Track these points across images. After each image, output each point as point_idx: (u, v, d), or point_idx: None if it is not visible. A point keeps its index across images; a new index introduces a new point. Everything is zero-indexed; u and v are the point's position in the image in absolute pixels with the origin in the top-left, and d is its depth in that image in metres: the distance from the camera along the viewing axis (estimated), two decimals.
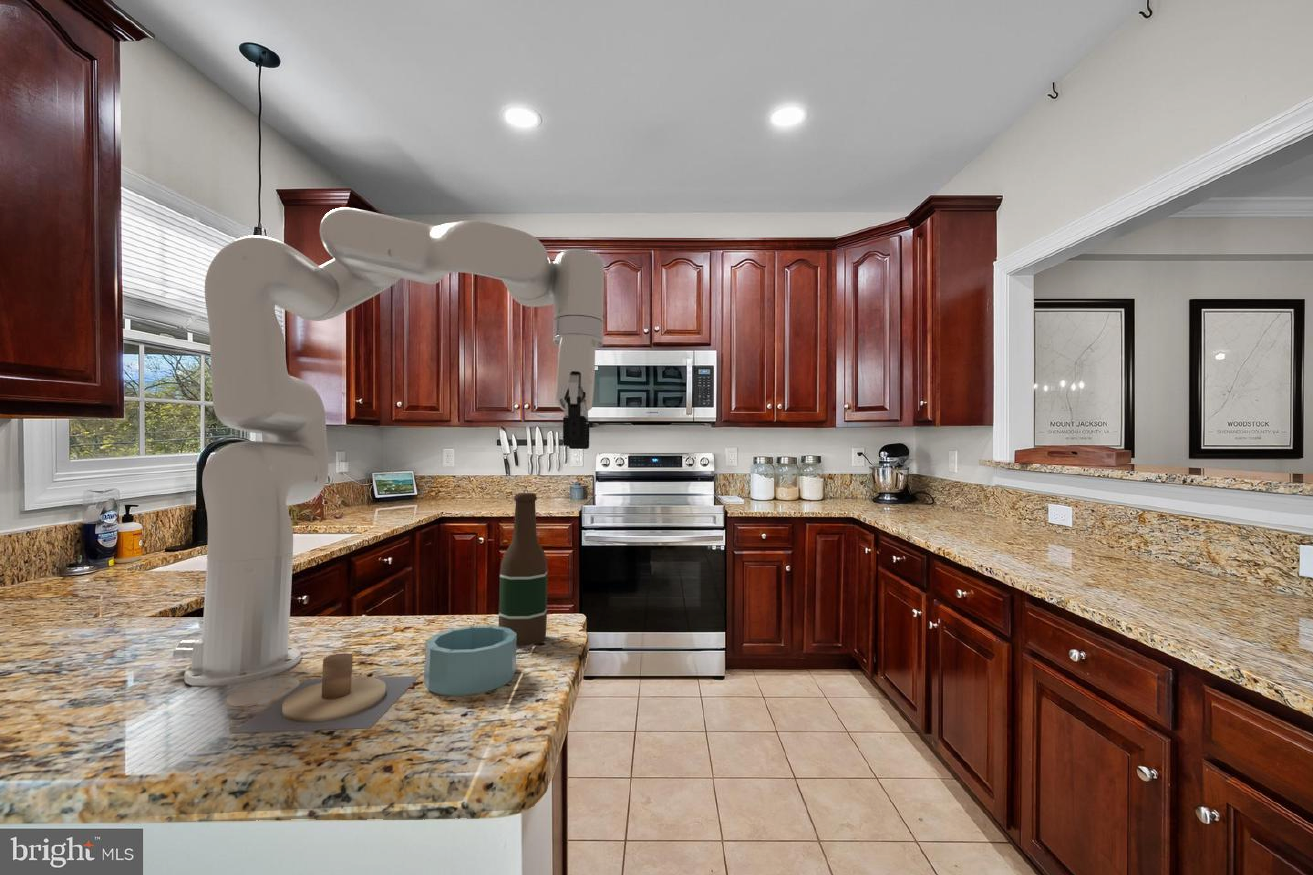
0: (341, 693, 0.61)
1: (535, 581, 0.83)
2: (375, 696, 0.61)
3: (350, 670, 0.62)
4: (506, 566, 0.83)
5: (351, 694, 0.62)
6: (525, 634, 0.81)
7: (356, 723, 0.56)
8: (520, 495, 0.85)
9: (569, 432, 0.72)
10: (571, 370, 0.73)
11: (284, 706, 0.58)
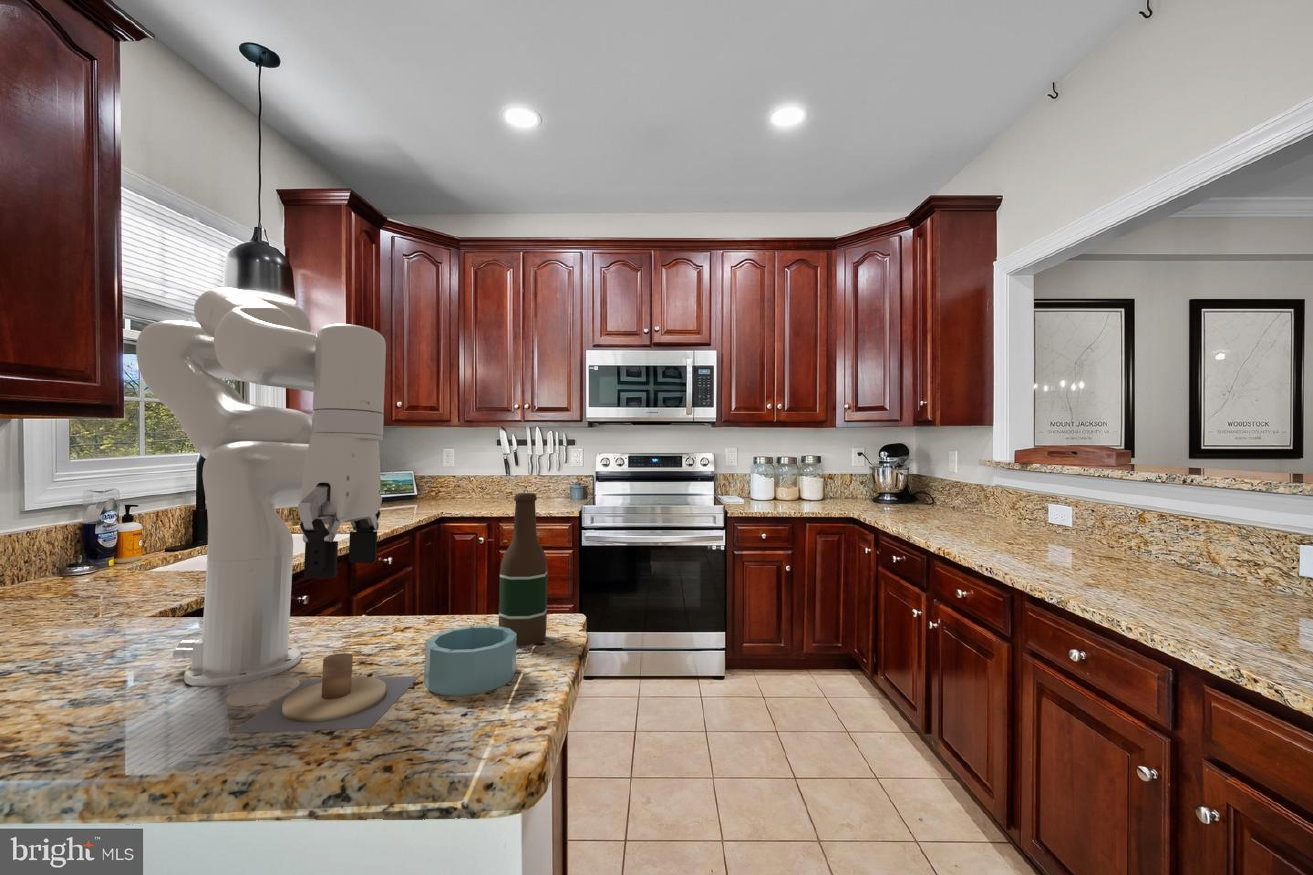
0: (341, 693, 0.61)
1: (535, 581, 0.83)
2: (375, 696, 0.61)
3: (350, 670, 0.62)
4: (506, 566, 0.83)
5: (351, 693, 0.62)
6: (525, 634, 0.81)
7: (356, 723, 0.56)
8: (520, 495, 0.85)
9: (309, 563, 0.57)
10: (318, 481, 0.58)
11: (284, 706, 0.58)
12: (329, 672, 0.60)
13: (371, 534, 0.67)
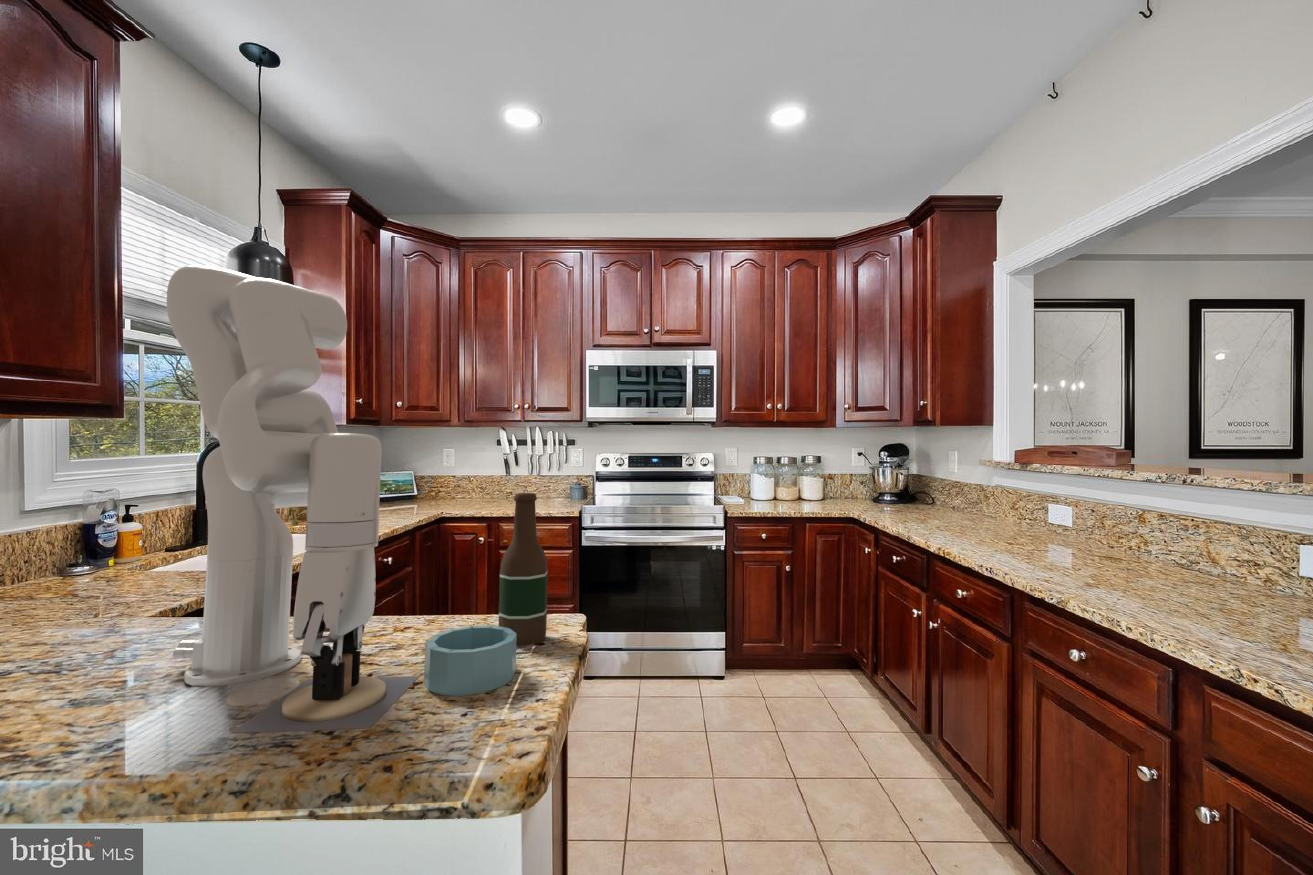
0: None
1: (535, 581, 0.83)
2: (375, 696, 0.61)
3: (350, 670, 0.62)
4: (506, 566, 0.83)
5: (351, 693, 0.62)
6: (525, 634, 0.81)
7: (356, 723, 0.56)
8: (520, 495, 0.85)
9: (317, 686, 0.59)
10: (311, 600, 0.57)
11: (284, 706, 0.58)
12: None
13: (354, 655, 0.63)
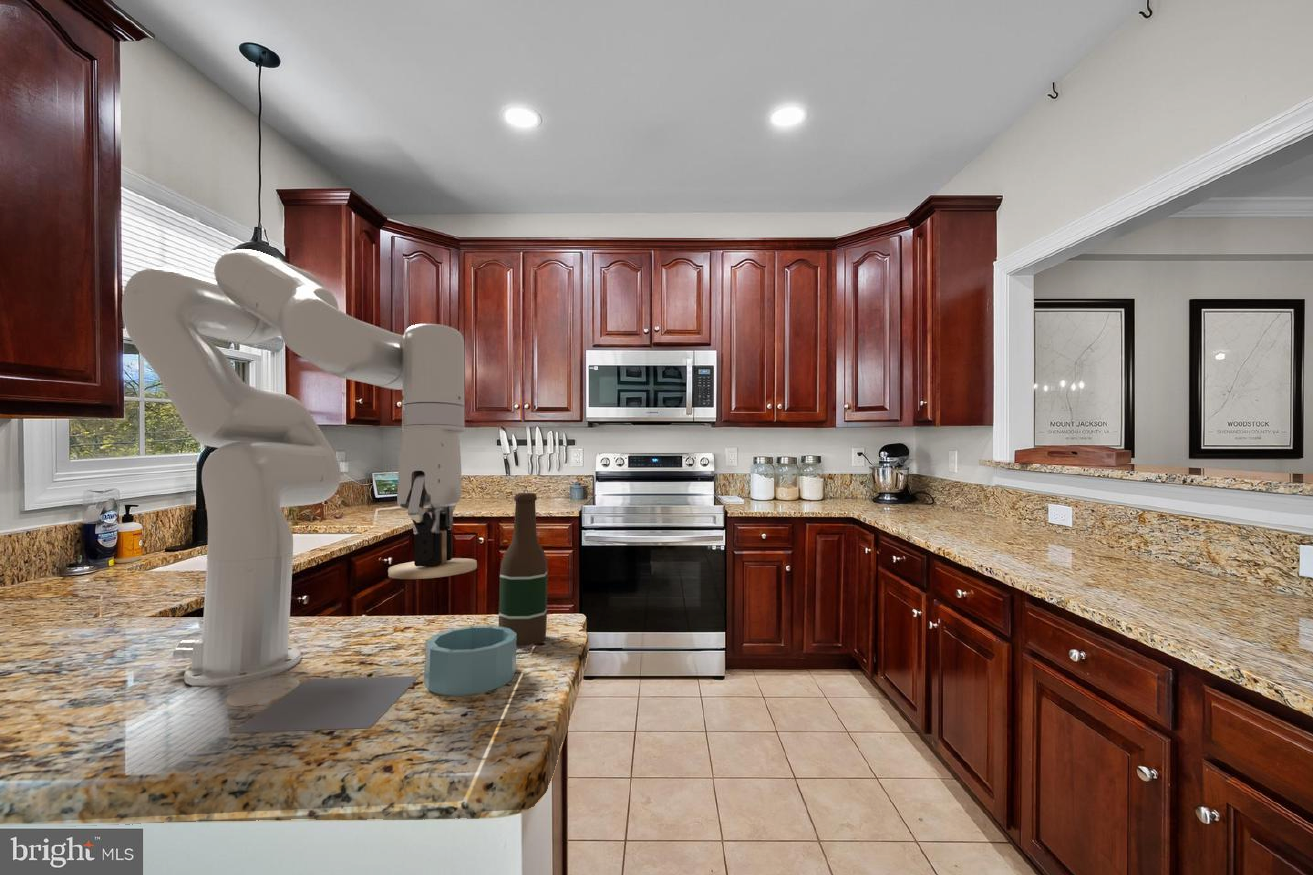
0: None
1: (535, 581, 0.83)
2: (470, 564, 0.66)
3: (445, 543, 0.67)
4: (506, 566, 0.83)
5: (447, 564, 0.67)
6: (525, 634, 0.81)
7: (356, 723, 0.56)
8: (520, 495, 0.85)
9: (419, 552, 0.64)
10: (413, 469, 0.62)
11: (390, 570, 0.63)
12: None
13: (447, 532, 0.68)
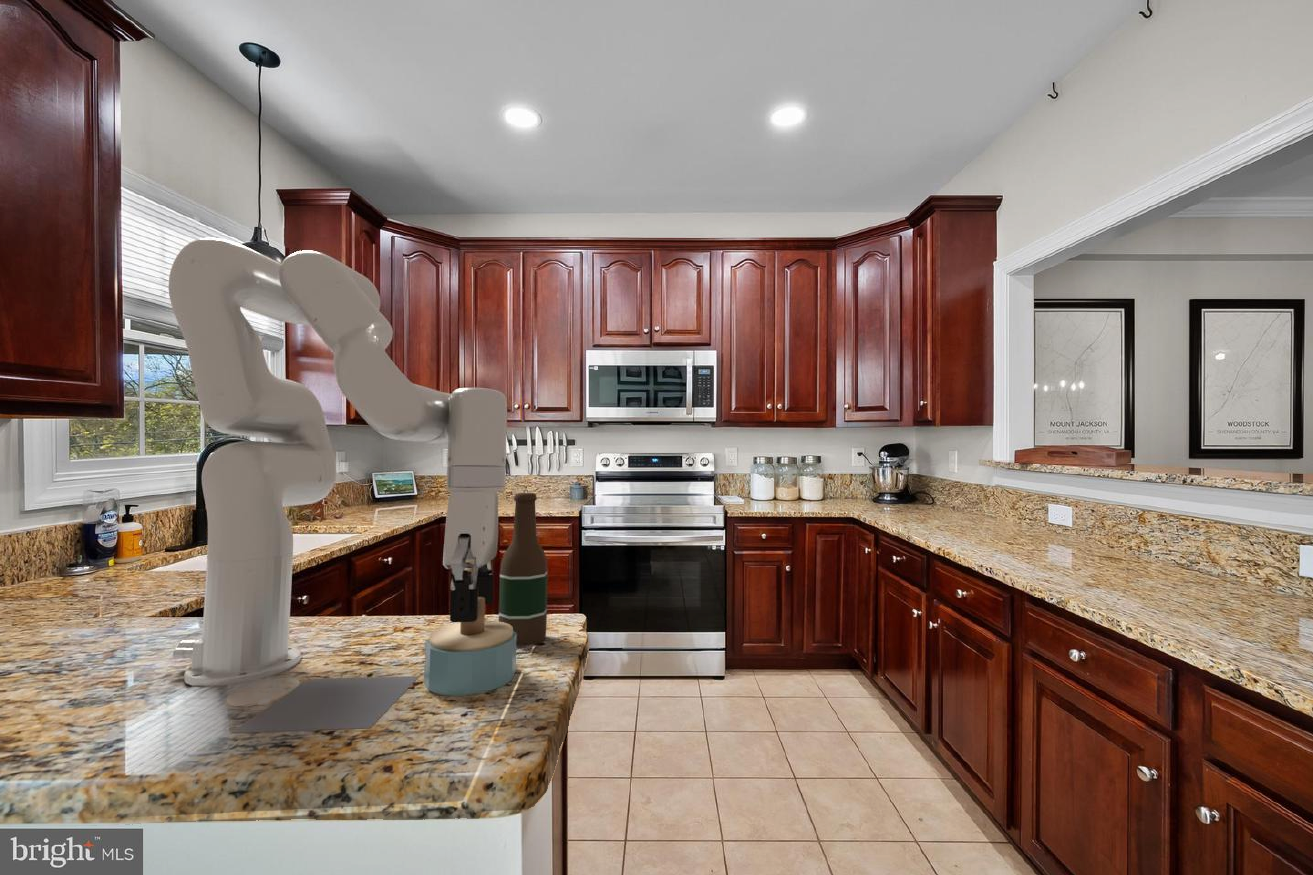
0: (478, 630, 0.68)
1: (535, 581, 0.83)
2: (508, 633, 0.69)
3: (484, 610, 0.69)
4: (506, 566, 0.83)
5: (485, 631, 0.69)
6: (525, 634, 0.81)
7: (356, 723, 0.56)
8: (520, 495, 0.85)
9: (456, 608, 0.64)
10: (460, 532, 0.65)
11: (433, 639, 0.66)
12: None
13: (489, 577, 0.73)
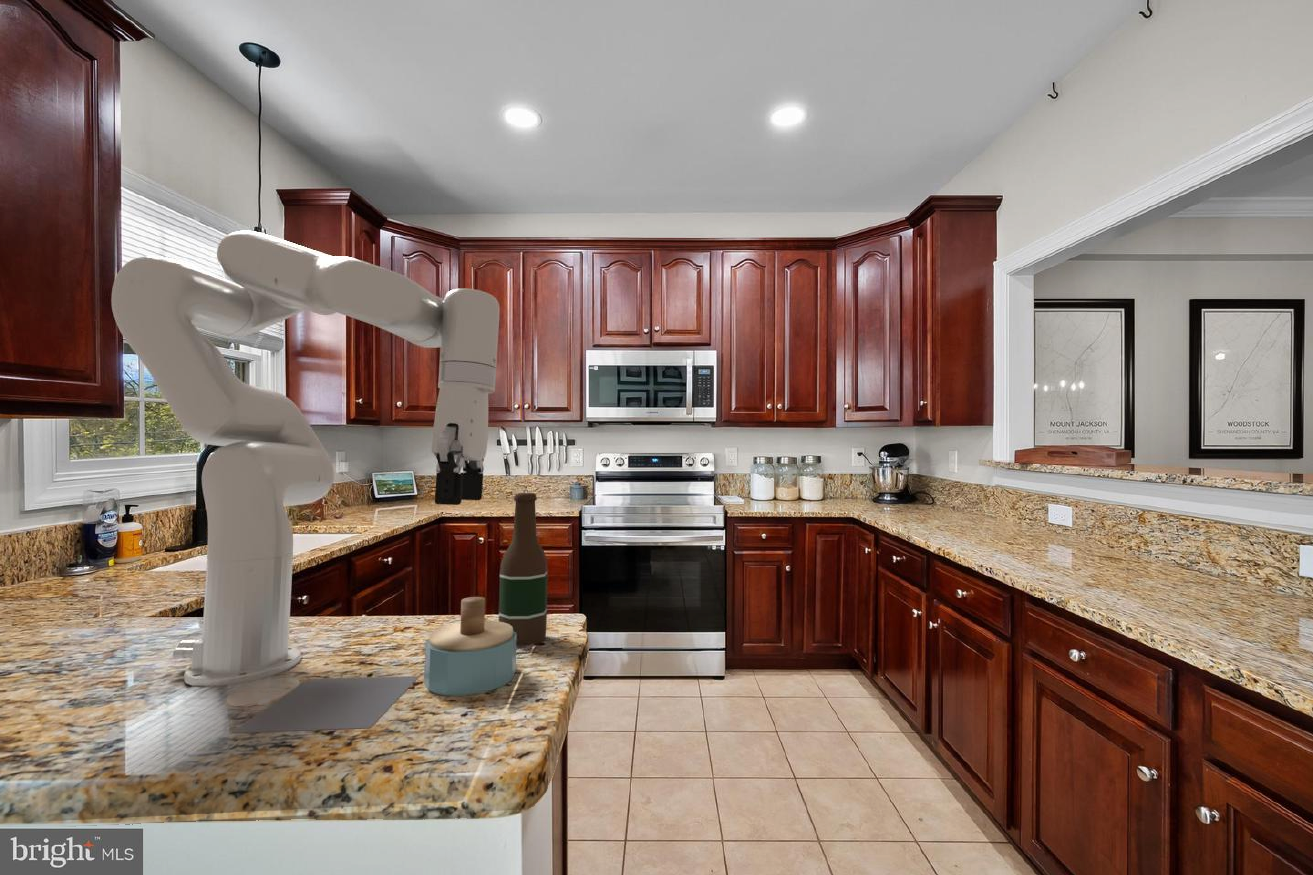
0: (478, 630, 0.68)
1: (535, 581, 0.83)
2: (508, 633, 0.69)
3: (484, 610, 0.69)
4: (506, 566, 0.83)
5: (485, 631, 0.69)
6: (525, 634, 0.81)
7: (356, 723, 0.56)
8: (520, 495, 0.85)
9: (441, 490, 0.66)
10: (448, 422, 0.68)
11: (433, 639, 0.66)
12: (468, 611, 0.68)
13: (479, 475, 0.77)
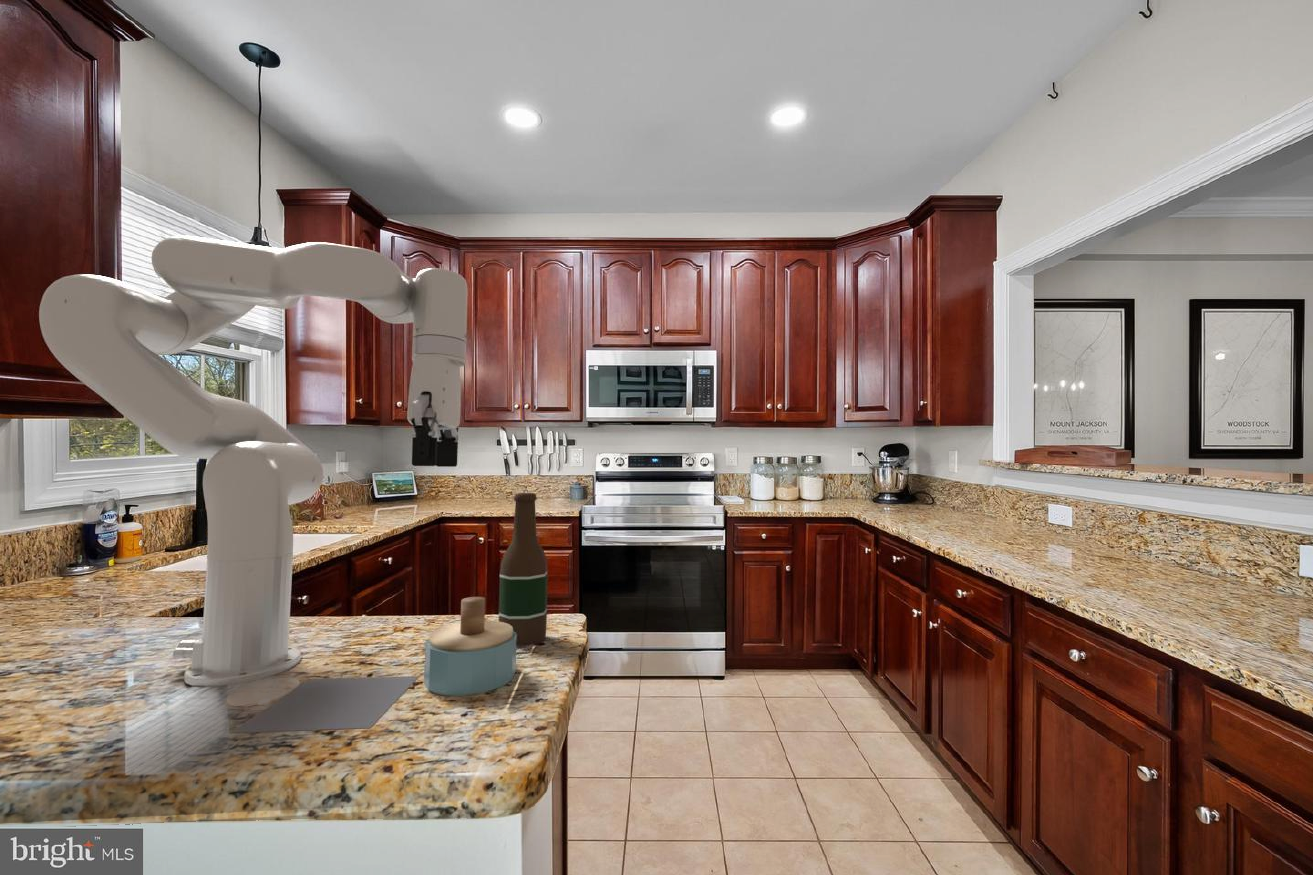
0: (478, 630, 0.68)
1: (535, 581, 0.83)
2: (508, 633, 0.69)
3: (484, 610, 0.69)
4: (506, 566, 0.83)
5: (485, 631, 0.69)
6: (525, 634, 0.81)
7: (356, 723, 0.56)
8: (520, 495, 0.85)
9: (417, 452, 0.72)
10: (422, 390, 0.73)
11: (433, 639, 0.66)
12: (468, 611, 0.68)
13: (453, 443, 0.83)
